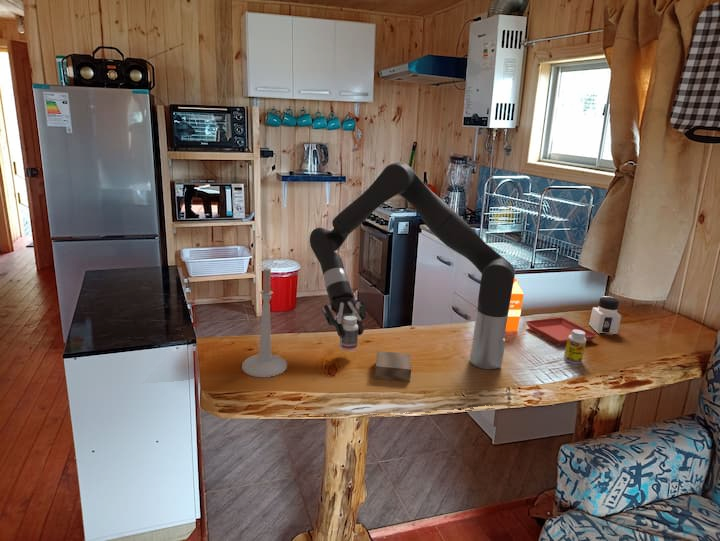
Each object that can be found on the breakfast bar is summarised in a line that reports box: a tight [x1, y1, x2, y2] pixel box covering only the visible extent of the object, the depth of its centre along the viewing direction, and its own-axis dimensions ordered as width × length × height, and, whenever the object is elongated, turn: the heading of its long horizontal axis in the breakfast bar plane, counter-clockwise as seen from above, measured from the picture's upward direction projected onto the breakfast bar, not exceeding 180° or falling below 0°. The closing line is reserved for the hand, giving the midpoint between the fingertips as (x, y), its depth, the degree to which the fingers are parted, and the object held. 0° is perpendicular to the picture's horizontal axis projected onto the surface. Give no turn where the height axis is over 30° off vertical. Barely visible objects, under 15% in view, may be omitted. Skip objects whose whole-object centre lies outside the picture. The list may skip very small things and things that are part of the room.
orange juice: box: [505, 277, 525, 332], centre depth 193 cm, size 8×9×20 cm
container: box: [588, 295, 622, 335], centre depth 198 cm, size 8×8×13 cm
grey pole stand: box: [241, 267, 288, 378], centre depth 148 cm, size 13×13×30 cm
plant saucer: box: [525, 316, 598, 346], centre depth 192 cm, size 18×18×3 cm
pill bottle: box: [339, 315, 359, 352], centre depth 160 cm, size 5×5×10 cm
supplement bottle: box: [563, 329, 587, 365], centre depth 171 cm, size 6×6×10 cm
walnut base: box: [374, 350, 412, 383], centre depth 155 cm, size 10×10×4 cm
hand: (351, 335), depth 159 cm, fingers closed on pill bottle, 5 cm apart
